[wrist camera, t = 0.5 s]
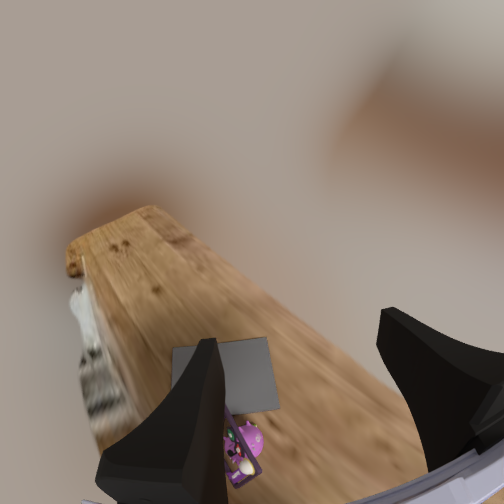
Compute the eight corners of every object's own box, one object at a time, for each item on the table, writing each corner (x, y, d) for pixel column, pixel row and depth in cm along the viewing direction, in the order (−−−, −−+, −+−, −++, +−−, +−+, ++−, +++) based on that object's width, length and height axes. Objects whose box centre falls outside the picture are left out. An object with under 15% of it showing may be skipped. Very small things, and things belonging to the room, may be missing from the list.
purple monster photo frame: (200, 380, 22) (249, 477, 16) (254, 368, 25) (306, 451, 19) (189, 414, 25) (227, 492, 19) (235, 402, 28) (276, 473, 22)
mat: (280, 408, 26) (279, 407, 26) (172, 419, 26) (171, 418, 25) (266, 338, 33) (266, 337, 33) (173, 349, 33) (172, 347, 32)
